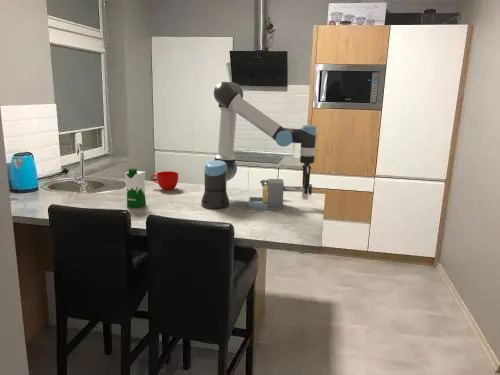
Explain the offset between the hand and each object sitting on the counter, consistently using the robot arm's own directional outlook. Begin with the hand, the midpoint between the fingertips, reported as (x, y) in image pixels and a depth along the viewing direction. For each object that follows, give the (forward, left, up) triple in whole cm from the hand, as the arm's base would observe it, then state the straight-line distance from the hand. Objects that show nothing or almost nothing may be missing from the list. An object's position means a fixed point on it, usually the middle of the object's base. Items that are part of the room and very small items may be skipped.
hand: (304, 198), depth 215 cm
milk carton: (-89, -8, -5) cm, 90 cm away
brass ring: (-21, 0, +1) cm, 22 cm away
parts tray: (-25, 0, -5) cm, 26 cm away
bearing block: (-16, 0, -5) cm, 17 cm away
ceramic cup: (-83, +29, -5) cm, 88 cm away
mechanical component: (-19, +18, -5) cm, 27 cm away
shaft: (-7, 0, +2) cm, 8 cm away
